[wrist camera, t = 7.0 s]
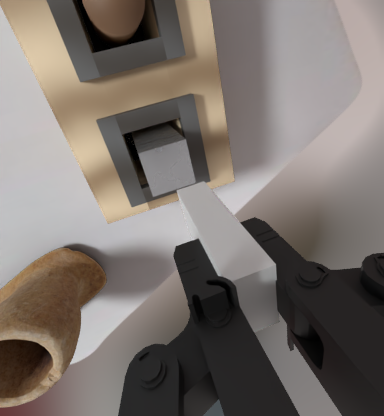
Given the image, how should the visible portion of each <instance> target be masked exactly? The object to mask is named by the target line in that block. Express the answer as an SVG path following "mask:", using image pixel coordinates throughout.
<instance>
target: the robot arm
mask: <svg viewBox="0 0 384 416" xmlns="http://www.w3.org/2000/svg"><path fill="white" fill-rule="evenodd" d="M177 194H178V197H179V201H180V204H181V208H182V211H183V215H184V218H185V222H186V225H187V229H188V232H189V234H190V236H191V239H192V241H190V242H187V243H184V244H181V245H179V246H176V248H175V252H174V259H175V263H176V266H177V269H178V272H179V275H180V278H181V281H182V284H183V287H184V290H185V293H186V297H187V300H188V306H189V309H190V318H189V321H188V324H187V326H186V327H185V329H184V331H182V332H181V333H180V334H179V336H178V337H176V338H175V339H174V340H172V341H171V342H170V343H169V344H168V345H164V344H153V345H150V346H148V347H145V348H144V349H142V350H141V351H140V352H139V353H138V354H136V355H135V357H134V358H133V360H132V361H131V363H130V364H129V367H128V370H127V373H126V376H125V381H124V387H123V392H122V398H121V404H120V409H119V415H118V416H203V415H204V414H205V413H206V412H207V410H208V409H209V408H210V407H211V406H212V405H213V404H214V403H215V402H216V401H217V400H218V399H219V400H220V403H221V406H222V409H223V412H224V416H300V415H299V414H298V412H297V410H296V408H295V406H294V404H293V403H292V401H291V399H290V397H289V395H288V394H287V392H286V390H285V388H284V386H283V385H282V382H281V381H280V379H279V377H278V375H277V373H276V372H275V370H274V368H273V366H272V364H271V362H270V361H269V359H268V357H267V355H266V353H265V351H264V350H263V348H262V346H261V344H260V343H259V340H258V339H257V337H256V335H255V333H254V332H257V331H259V330H261V329H264V328H266V327H269V326H271V325H273V324H276V323H278V322H279V313H280V315H281V316H282V317H283V319H284V320H285V322H286V323H287V338H288V339H287V340H288V346H289V348H290V351H292V350H294V346H293V345H294V344H295V346H296V347H297V349H298V350H299V352H300V353H301V355H302V356H303V358H304V359H305V360H306V362H307V364H308V365H309V367H310V368H311V370H312V371H313V373H314V374H315V375H316V377H317V378H318V380H319V382H320V383H321V385H322V386H323V388H324V389H325V391H326V392H327V393H328V395H329V397H330V398H331V399H332V401H333V403H334V404H335V406H336V407H337V409H338V410H339V412H340V413H341V415H342V416H384V253H377V254H372V255H370V256H367V257H366V258H365V259H364V261H363V262H362V267H361V268H352V269H342V270H330V269H328V268H326V267H325V266H323V265H321V264H318V263H315V262H309V261H306V260H305V259H304V258H303V257H301V255H300V254H299V253H298V252H296V251H295V250H294V249H293V248H292V247H291V246H290V245H289V244H288V243H287V242H286V241H285V240H284V239H283V238H282V237H280V236H279V235H278V233H276V231H274V230H273V229H272V228H271V227H270V226H269V225H268V224H267V223H266V222H265V221H262V220H260V219H257V218H255V217H254V218H252V219H249V220H246V221H243V222H239V221H238V220H237V219H236V218H235V216H234V215H233V214H232V213H231V212H230V211H229V209H228V208H227V207H226V206H225V205H224V204H223V202H222V201H221V200H220V199H219V198H218V197H217V195H216V194H215V193H214V192H213V191H212V190H211V189H210V187H209V186H208V185H207V184H206V183H205V182H204V181H203V182H200V183H197V184H194V185H191V186H188V187H185V188H182V189H179V190H177Z"/></svg>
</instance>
